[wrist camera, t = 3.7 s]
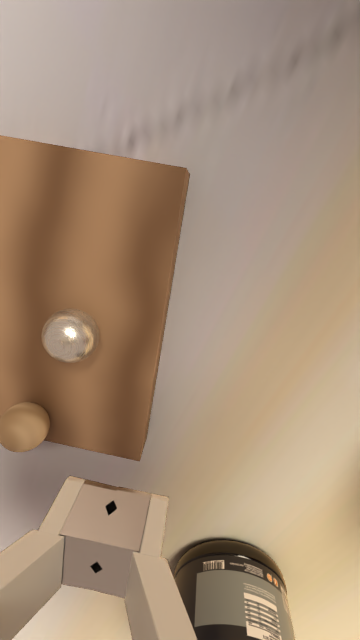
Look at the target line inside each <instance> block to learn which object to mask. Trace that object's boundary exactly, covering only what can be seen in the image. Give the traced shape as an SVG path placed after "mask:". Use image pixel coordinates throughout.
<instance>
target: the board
mask: <svg viewBox="0 0 360 640" xmlns="http://www.w3.org/2000/svg"><path fill="white" fill-rule="evenodd" d="M189 177H190V174H189V172H188V170H187V168H182V167H177V166H171V165H165V164H160V163H154V162H148V161H143V160H137V159H131V158H126V157H120V156H114V155H109V154H103V153H97V152H91V151H86V150H80V149H74V148H69V147H63V146H57V145H52V144H46V143H40V142H35V141H29V140H23V139H18V138H12V137H6V136H1V135H0V418H1V417H2V415H3V414H4V413H5V412H6V411H7V410H8V409H9V408H11V407H12V406H14V405H16V404H19V403H24V402H31V403H36V404H38V405H40V406H42V407H43V408H44V409H45V410H46V412H47V413H48V416H49V419H50V428H49V431H48V434H47V436H46V437H45V439H44V440H45V441H50V442H54V443H59V444H63V445H68V446H72V447H77V448H82V449H86V450H91V451H95V452H100V453H104V454H109V455H114V456H118V457H123V458H127V459H132V460H136V461H140V458H141V455H142V452H143V448H144V445H145V442H146V438H147V433H148V426H149V420H150V414H151V408H152V402H153V396H154V390H155V384H156V378H157V372H158V366H159V359H160V353H161V347H162V341H163V335H164V329H165V323H166V317H167V311H168V305H169V299H170V293H171V286H172V280H173V274H174V268H175V262H176V256H177V250H178V244H179V238H180V232H181V226H182V220H183V213H184V207H185V201H186V195H187V189H188V183H189ZM64 309H78V310H81V311H84V312H86V313H87V314H89V315H90V316H91V317H92V318H93V319H94V320H95V322H96V324H97V326H98V329H99V342H98V345H97V347H96V349H95V350H94V352H93V353H92V354H91V355H90V356H89V357H87V358H86V359H84V360H82V361H79V362H75V363H65V362H61V361H58V360H56V359H54V358H53V357H51V356H50V355H49V354H48V353H47V351H46V350H45V348H44V346H43V343H42V329H43V327H44V324H45V323H46V321H47V320H48V319H49V317H50V316H52V315H53V314H54V313H56V312H58V311H60V310H64Z"/></svg>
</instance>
